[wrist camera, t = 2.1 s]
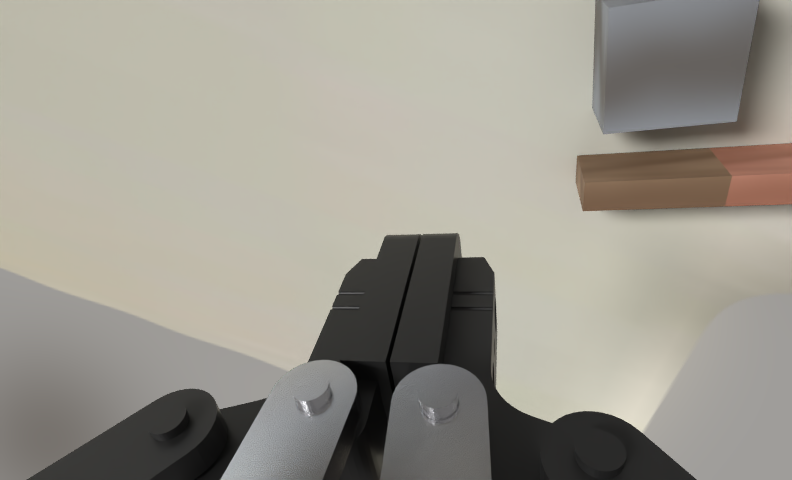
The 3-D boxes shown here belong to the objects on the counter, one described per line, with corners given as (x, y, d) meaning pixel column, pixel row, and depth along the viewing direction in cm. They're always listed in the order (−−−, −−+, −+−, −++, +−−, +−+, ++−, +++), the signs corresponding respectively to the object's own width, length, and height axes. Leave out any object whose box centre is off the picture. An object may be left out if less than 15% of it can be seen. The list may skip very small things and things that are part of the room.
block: (595, -7, 22) (608, 7, 19) (726, -28, 20) (762, -16, 18) (591, 106, 24) (603, 134, 21) (707, 94, 23) (736, 121, 20)
